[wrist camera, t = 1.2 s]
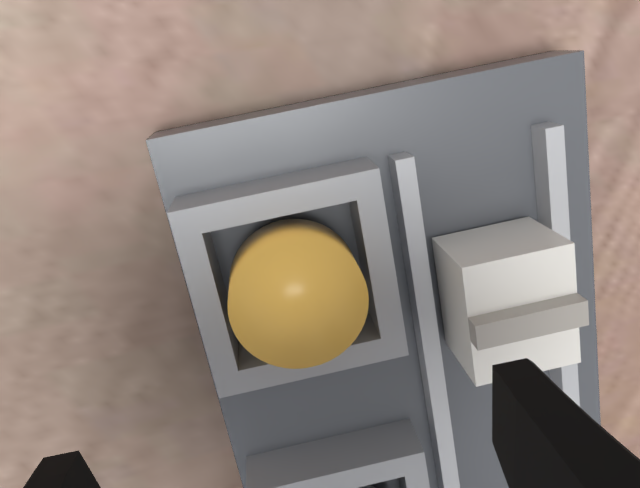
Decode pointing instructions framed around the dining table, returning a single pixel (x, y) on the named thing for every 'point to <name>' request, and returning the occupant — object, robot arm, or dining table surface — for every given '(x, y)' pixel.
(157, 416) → the dining table surface
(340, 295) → the amber button
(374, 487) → the grey button
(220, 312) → the control panel
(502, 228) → the slider knob
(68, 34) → the dining table surface
